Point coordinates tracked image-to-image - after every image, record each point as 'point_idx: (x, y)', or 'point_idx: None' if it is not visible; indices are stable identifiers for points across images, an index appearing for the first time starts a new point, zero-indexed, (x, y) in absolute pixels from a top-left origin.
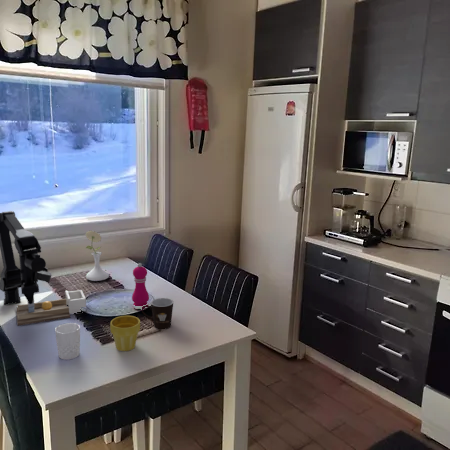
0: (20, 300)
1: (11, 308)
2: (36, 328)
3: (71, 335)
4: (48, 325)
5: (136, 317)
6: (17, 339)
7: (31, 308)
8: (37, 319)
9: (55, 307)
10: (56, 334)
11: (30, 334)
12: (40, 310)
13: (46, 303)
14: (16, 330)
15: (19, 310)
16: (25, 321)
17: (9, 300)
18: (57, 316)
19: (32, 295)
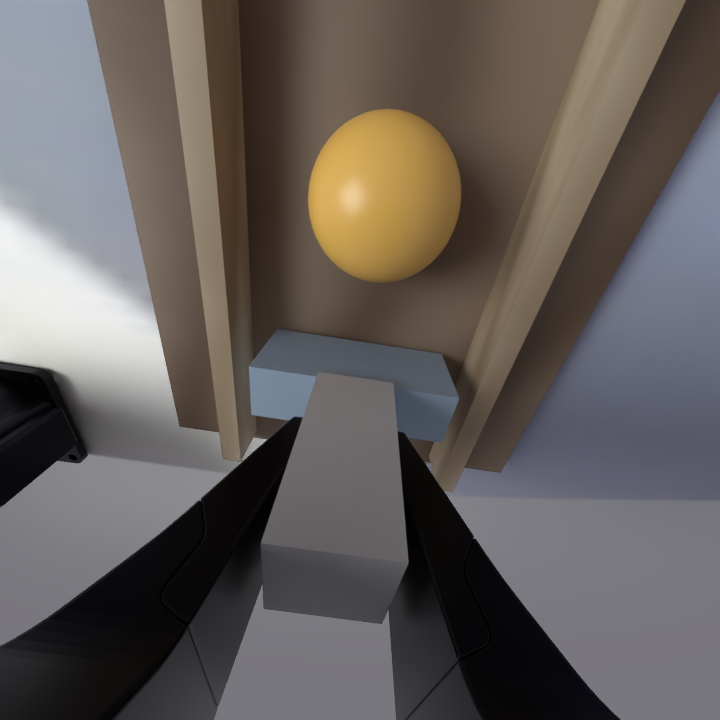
0: (11, 370)
1: (162, 434)
2: (657, 374)
3: None
4: (707, 275)
5: None
6: (695, 489)
7: (446, 420)
8: (551, 351)
9: (336, 53)
10: None
11: (712, 426)
12: (343, 277)
13: (435, 226)
14: (560, 472)
15: (259, 422)
16: (510, 430)
17: (55, 458)
18: (678, 121)
19: (488, 588)
